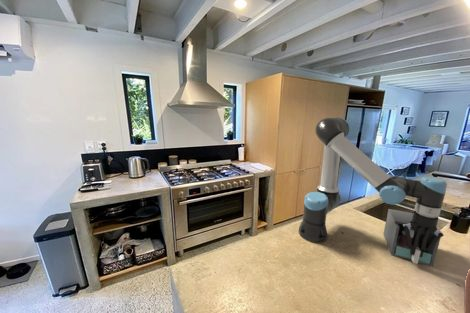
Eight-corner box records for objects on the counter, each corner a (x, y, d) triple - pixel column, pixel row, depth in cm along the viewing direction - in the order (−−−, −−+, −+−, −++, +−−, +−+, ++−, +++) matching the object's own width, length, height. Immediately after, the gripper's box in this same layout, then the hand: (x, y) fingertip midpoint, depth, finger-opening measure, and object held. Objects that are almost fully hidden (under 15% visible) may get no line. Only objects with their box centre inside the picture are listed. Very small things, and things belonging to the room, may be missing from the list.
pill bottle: (412, 254, 90) (417, 233, 87) (396, 246, 95) (400, 226, 92) (417, 249, 93) (422, 229, 91) (401, 242, 98) (405, 223, 96)
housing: (383, 234, 107) (388, 208, 104) (418, 242, 100) (425, 215, 97) (390, 254, 92) (397, 225, 88) (432, 266, 85) (441, 234, 82)
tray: (387, 235, 105) (389, 228, 104) (416, 242, 99) (418, 234, 98) (396, 256, 89) (397, 248, 88) (430, 265, 84) (432, 257, 83)
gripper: (408, 213, 80) (398, 261, 85) (452, 222, 74) (437, 273, 79) (403, 206, 86) (393, 251, 91) (443, 213, 80) (430, 261, 85)
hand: (414, 261), depth 85 cm, fingers closed
